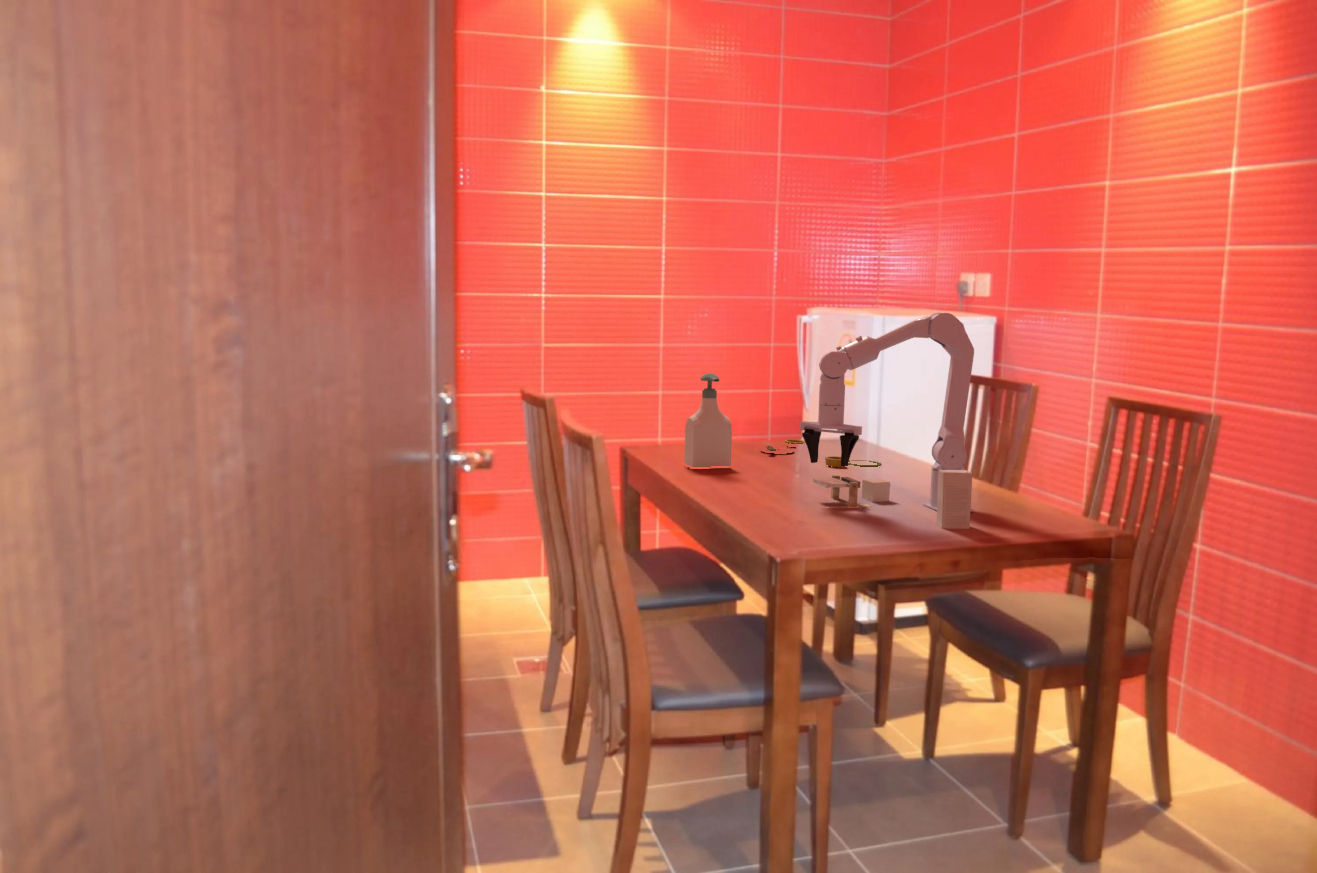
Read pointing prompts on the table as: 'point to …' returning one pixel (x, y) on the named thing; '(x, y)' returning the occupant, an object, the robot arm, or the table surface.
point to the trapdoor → (835, 482)
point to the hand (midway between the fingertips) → (829, 464)
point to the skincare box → (954, 499)
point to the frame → (852, 495)
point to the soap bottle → (708, 431)
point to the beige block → (875, 490)
